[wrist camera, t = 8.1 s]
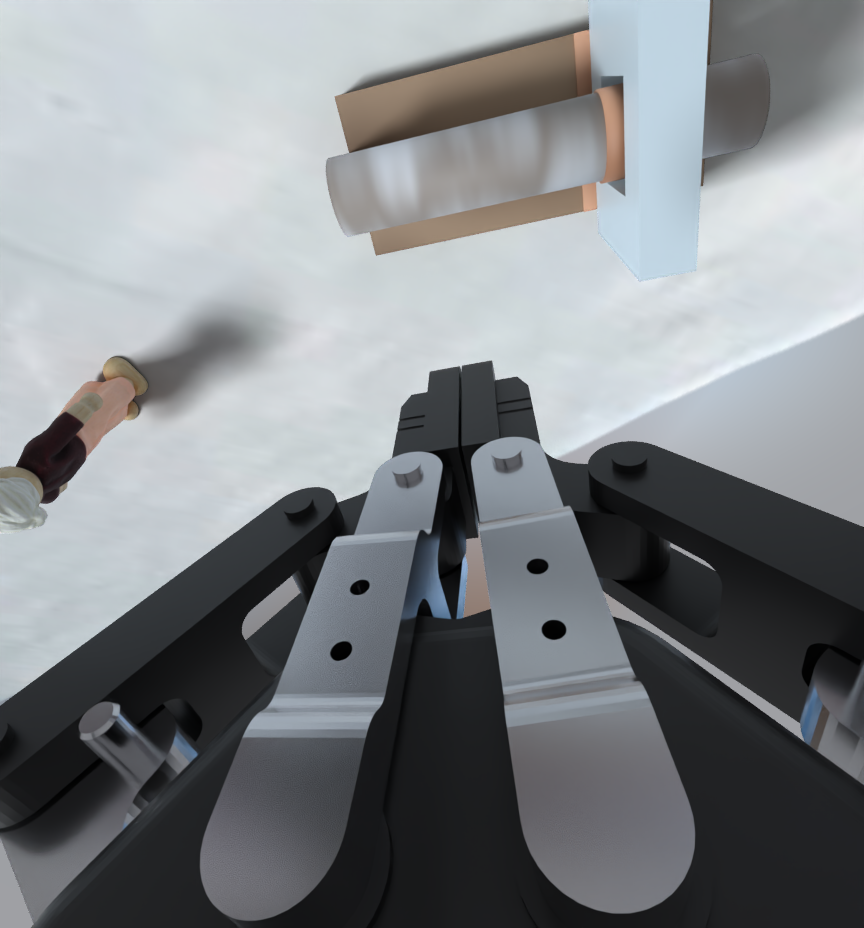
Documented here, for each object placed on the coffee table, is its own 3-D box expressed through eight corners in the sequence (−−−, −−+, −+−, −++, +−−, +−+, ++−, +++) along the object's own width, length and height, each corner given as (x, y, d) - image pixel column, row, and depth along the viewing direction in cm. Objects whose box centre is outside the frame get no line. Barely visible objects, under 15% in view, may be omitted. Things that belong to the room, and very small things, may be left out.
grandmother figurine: (93, 332, 34) (-75, 447, 23) (157, 357, 34) (23, 479, 24) (84, 430, 38) (-61, 565, 27) (141, 451, 38) (22, 590, 28)
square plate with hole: (587, -2, 22) (637, -35, 16) (640, -17, 22) (712, -56, 15) (598, 233, 27) (639, 281, 21) (641, 224, 27) (696, 270, 20)
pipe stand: (336, 96, 26) (296, 102, 20) (705, -1, 24) (791, -29, 17) (376, 249, 30) (352, 294, 24) (696, 180, 27) (765, 210, 21)
